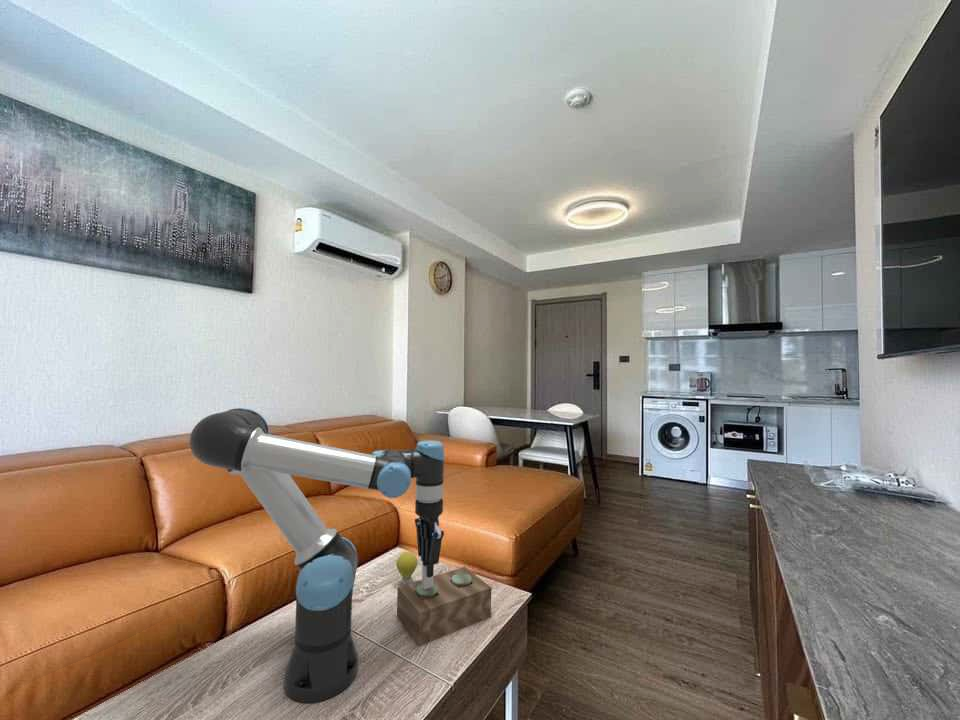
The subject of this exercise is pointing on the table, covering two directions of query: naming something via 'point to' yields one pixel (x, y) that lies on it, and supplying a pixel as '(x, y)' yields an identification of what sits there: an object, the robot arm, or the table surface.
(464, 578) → the far plunger
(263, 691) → the table surface
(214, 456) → the robot arm
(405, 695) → the table surface
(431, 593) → the near plunger
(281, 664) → the table surface
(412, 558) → the yellow light bulb
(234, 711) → the table surface
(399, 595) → the socket block
